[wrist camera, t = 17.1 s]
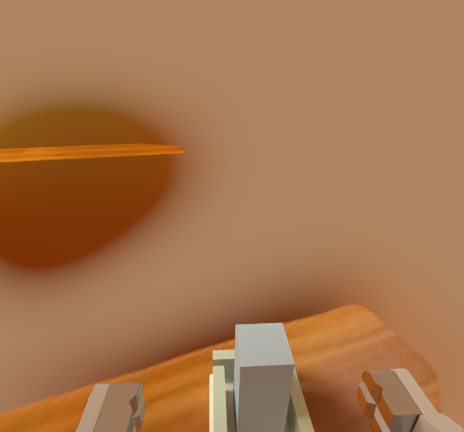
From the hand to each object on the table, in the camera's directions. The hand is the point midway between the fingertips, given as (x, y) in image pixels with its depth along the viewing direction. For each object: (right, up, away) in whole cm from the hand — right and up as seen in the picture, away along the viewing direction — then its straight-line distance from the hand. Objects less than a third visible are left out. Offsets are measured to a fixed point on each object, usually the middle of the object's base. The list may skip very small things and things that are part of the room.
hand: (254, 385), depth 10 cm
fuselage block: (+2, -20, +26) cm, 33 cm away
